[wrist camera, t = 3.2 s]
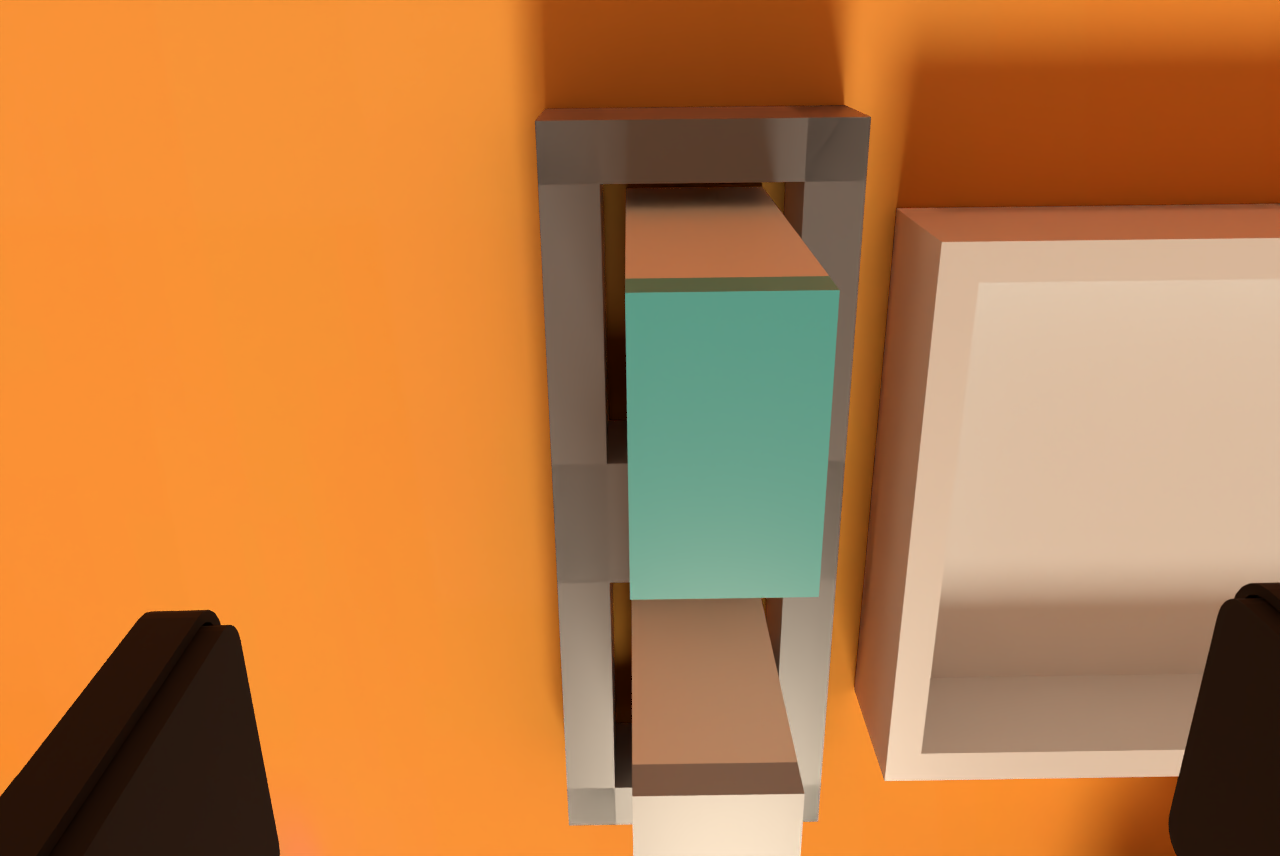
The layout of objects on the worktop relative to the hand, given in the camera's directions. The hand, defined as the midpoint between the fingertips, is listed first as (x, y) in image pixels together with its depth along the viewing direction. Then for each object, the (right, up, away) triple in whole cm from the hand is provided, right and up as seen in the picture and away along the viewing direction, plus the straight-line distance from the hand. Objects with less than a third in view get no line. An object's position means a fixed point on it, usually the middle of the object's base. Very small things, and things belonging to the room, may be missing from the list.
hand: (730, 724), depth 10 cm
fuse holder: (0, +2, +15) cm, 15 cm away
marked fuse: (0, +6, +13) cm, 15 cm away
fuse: (0, -2, +17) cm, 17 cm away
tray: (+11, +2, +15) cm, 19 cm away
